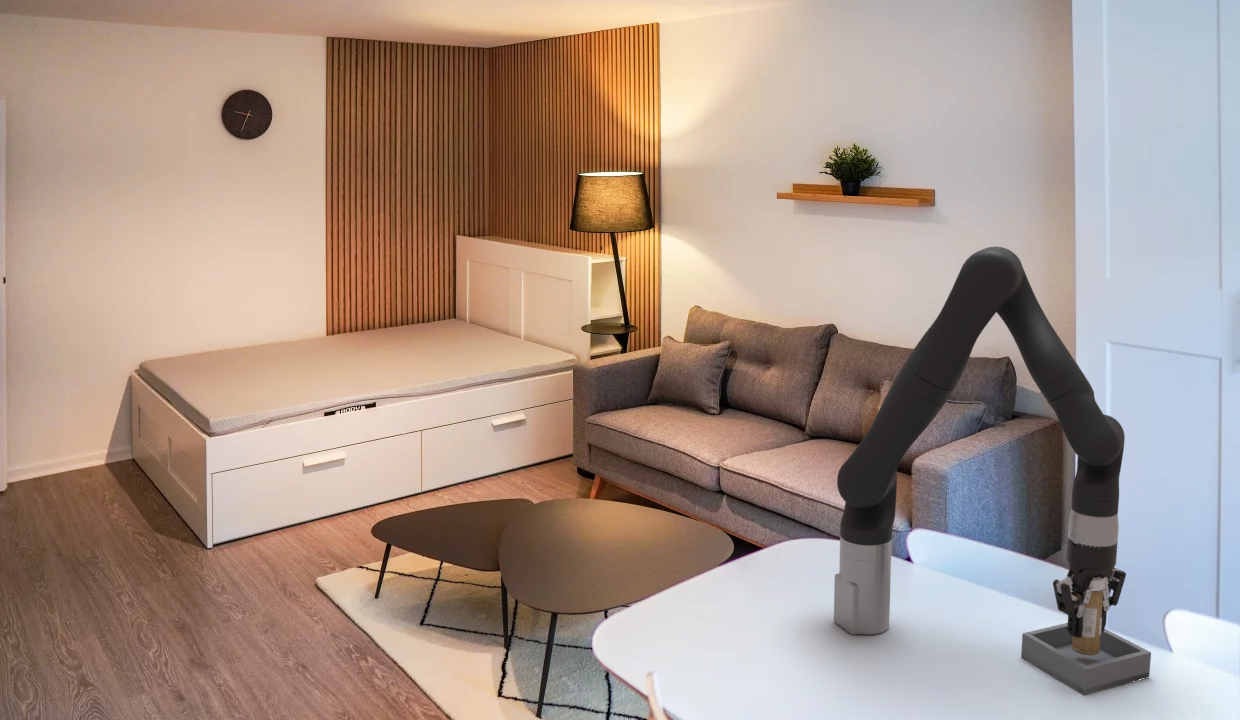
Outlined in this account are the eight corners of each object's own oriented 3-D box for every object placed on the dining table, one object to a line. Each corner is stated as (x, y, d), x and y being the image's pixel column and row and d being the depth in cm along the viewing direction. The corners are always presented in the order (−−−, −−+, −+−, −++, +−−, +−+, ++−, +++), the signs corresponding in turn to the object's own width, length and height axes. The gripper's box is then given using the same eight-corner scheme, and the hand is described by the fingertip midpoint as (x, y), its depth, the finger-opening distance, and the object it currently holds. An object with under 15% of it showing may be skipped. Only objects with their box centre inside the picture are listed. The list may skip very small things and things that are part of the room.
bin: (1083, 695, 169) (1085, 669, 168) (1021, 657, 182) (1022, 633, 181) (1149, 677, 174) (1151, 652, 173) (1083, 642, 187) (1085, 618, 186)
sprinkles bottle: (1105, 651, 176) (1111, 576, 174) (1089, 659, 174) (1094, 582, 171) (1080, 641, 180) (1085, 567, 178) (1064, 648, 178) (1069, 573, 175)
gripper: (1107, 522, 179) (1100, 616, 183) (1041, 535, 174) (1036, 631, 177) (1143, 536, 172) (1136, 634, 176) (1076, 551, 167) (1070, 650, 171)
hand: (1086, 632), depth 177 cm, fingers closed on sprinkles bottle, 4 cm apart
